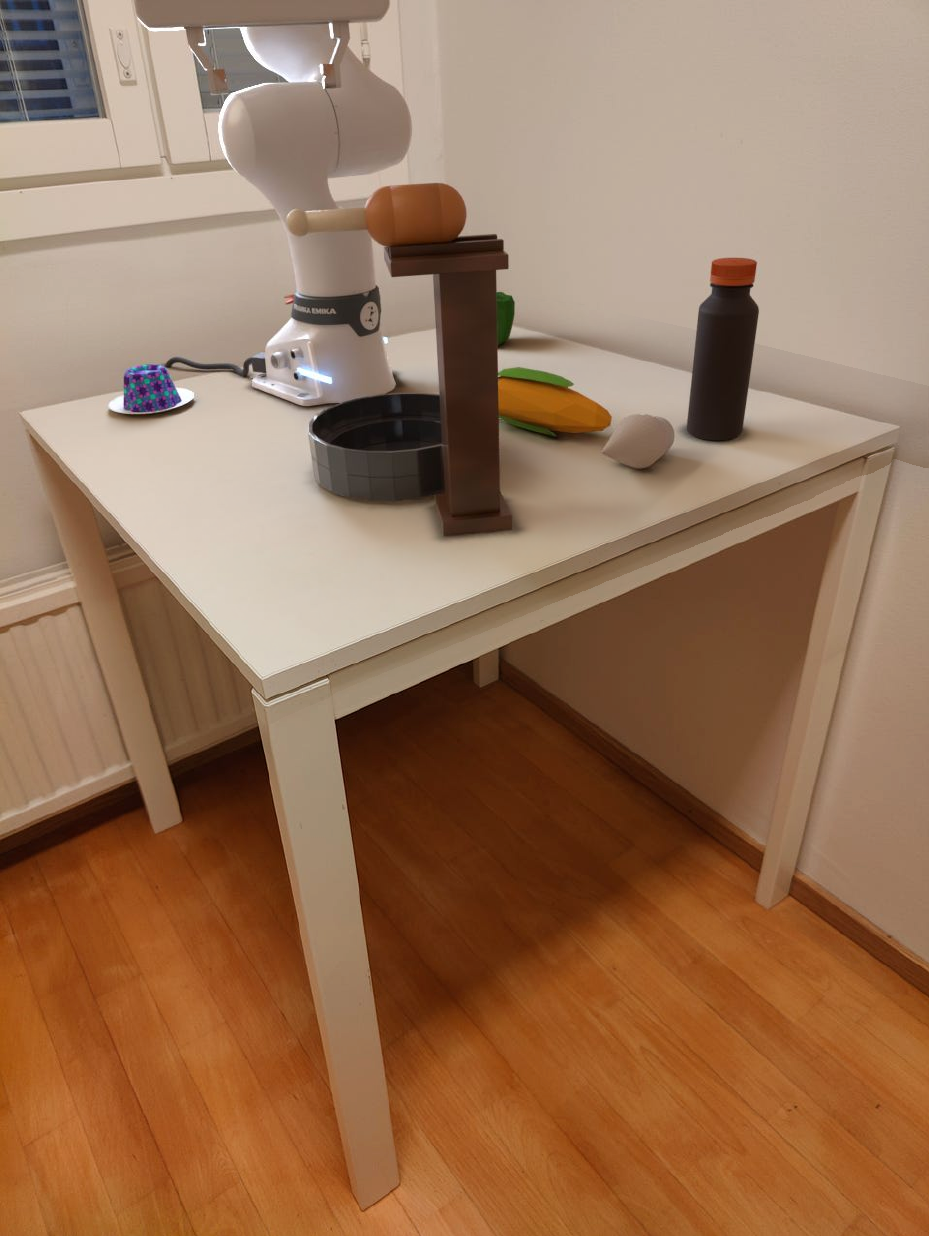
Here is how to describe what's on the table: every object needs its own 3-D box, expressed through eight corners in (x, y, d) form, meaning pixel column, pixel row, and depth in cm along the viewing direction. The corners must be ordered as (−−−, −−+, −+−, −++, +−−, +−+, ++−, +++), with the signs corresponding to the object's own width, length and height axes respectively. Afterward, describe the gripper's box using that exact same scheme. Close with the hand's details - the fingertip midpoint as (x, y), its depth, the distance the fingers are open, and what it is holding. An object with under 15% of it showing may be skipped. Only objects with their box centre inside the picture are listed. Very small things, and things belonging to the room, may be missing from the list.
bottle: (753, 433, 107) (779, 261, 96) (713, 445, 104) (734, 269, 93) (714, 418, 112) (733, 253, 101) (674, 430, 109) (690, 261, 98)
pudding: (173, 387, 133) (165, 352, 130) (209, 404, 125) (202, 367, 122) (96, 406, 126) (87, 370, 124) (130, 425, 119) (120, 387, 116)
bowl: (278, 480, 100) (270, 430, 97) (391, 428, 113) (387, 383, 110) (412, 520, 90) (408, 466, 86) (518, 458, 103) (518, 409, 100)
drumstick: (289, 258, 72) (281, 195, 69) (290, 249, 76) (282, 188, 73) (471, 246, 73) (469, 184, 71) (463, 238, 77) (461, 178, 75)
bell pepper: (483, 335, 152) (481, 275, 147) (522, 340, 148) (522, 279, 143) (455, 346, 147) (452, 284, 141) (495, 352, 142) (494, 289, 137)
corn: (507, 350, 114) (632, 377, 102) (510, 405, 119) (631, 438, 107) (468, 367, 110) (594, 397, 98) (473, 424, 115) (594, 459, 103)
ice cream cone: (592, 491, 94) (653, 468, 105) (636, 465, 89) (696, 444, 100) (566, 441, 94) (631, 423, 105) (609, 413, 90) (672, 397, 101)
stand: (412, 542, 85) (389, 251, 71) (404, 508, 92) (382, 237, 78) (513, 531, 86) (510, 243, 72) (498, 499, 93) (493, 230, 79)
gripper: (376, -114, 70) (391, 85, 78) (115, -110, 67) (156, 98, 74) (388, -132, 65) (403, 84, 72) (105, -129, 62) (151, 97, 69)
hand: (276, 91), depth 73 cm, fingers open, 8 cm apart
